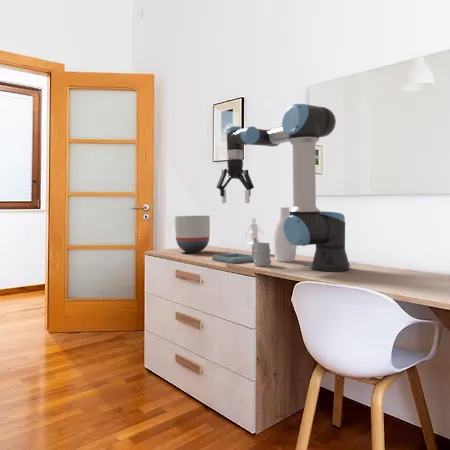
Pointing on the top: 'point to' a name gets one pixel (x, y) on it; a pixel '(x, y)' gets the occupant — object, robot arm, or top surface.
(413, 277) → the top surface
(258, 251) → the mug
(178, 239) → the planter
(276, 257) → the bottle
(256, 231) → the figurine
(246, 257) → the tray
